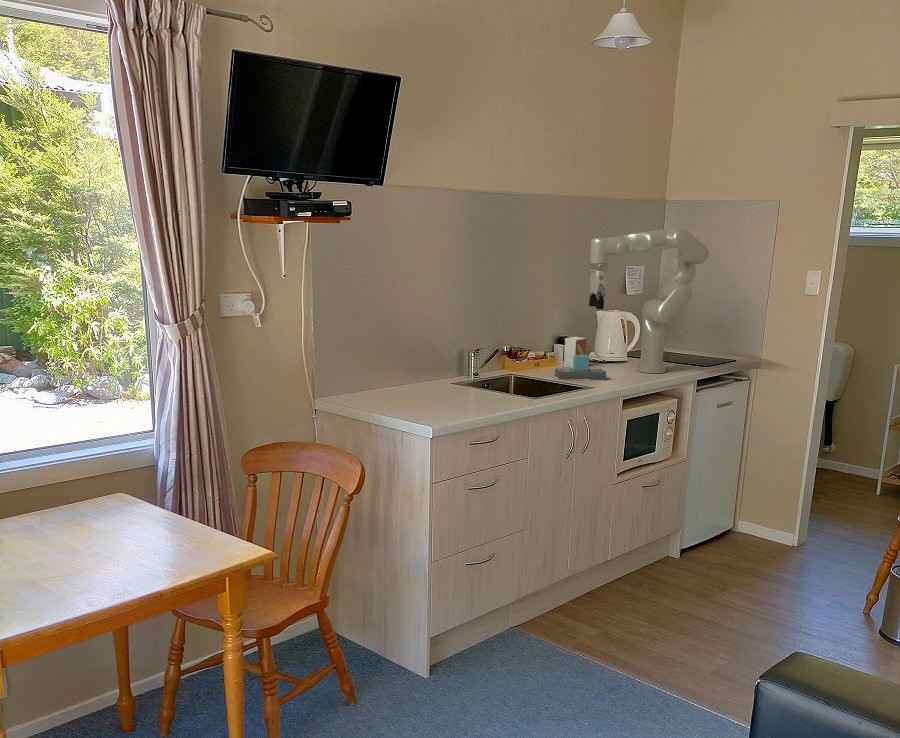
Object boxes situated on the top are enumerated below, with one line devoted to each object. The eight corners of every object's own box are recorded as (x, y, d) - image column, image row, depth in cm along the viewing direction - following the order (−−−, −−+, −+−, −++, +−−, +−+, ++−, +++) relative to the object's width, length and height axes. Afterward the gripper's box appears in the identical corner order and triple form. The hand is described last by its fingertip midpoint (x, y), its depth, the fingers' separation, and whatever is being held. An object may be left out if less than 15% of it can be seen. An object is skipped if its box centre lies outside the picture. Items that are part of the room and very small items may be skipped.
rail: (600, 376, 341) (601, 368, 341) (605, 380, 335) (606, 371, 334) (554, 376, 339) (555, 368, 338) (558, 379, 332) (559, 371, 331)
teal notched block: (586, 376, 339) (587, 355, 337) (588, 377, 336) (589, 356, 334) (572, 376, 338) (573, 355, 336) (574, 377, 335) (575, 356, 333)
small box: (574, 368, 358) (576, 339, 356) (563, 366, 363) (564, 337, 360) (585, 366, 364) (587, 338, 361) (574, 364, 368) (575, 336, 366)
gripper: (613, 269, 334) (611, 310, 337) (600, 266, 351) (598, 305, 354) (596, 268, 333) (593, 310, 336) (584, 266, 350) (581, 305, 353)
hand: (596, 307), depth 345 cm, fingers open, 9 cm apart
